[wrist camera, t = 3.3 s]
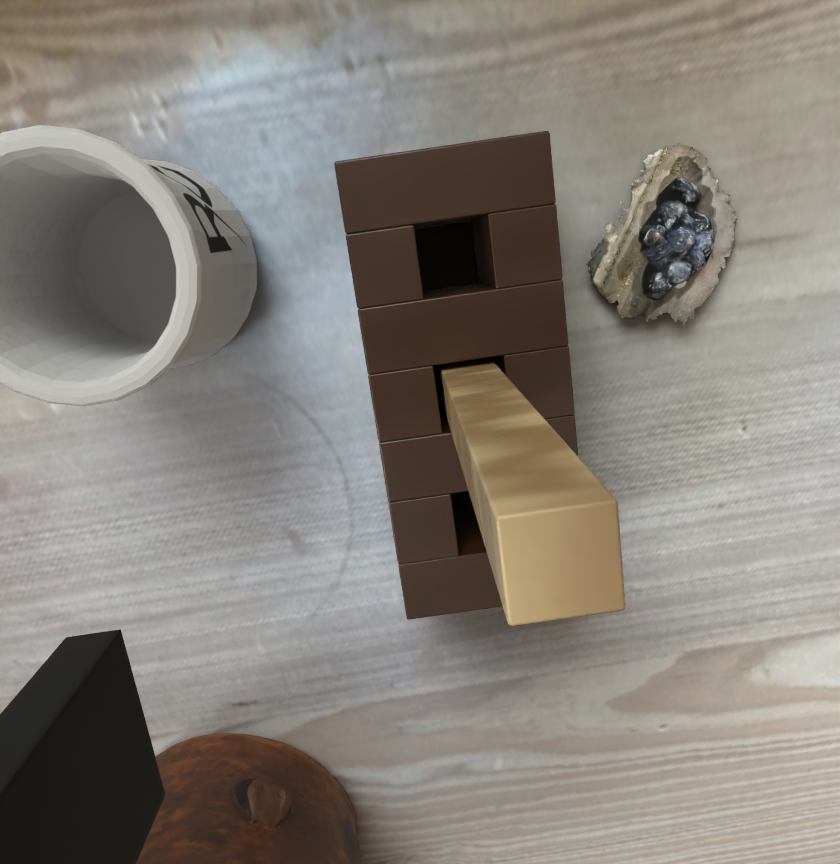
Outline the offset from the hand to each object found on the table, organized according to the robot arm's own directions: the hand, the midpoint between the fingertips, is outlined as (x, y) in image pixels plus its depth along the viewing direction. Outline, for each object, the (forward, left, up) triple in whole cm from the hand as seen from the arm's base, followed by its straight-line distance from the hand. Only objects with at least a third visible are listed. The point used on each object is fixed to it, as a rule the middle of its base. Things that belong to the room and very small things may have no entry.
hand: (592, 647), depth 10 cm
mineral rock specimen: (-10, -5, -25) cm, 27 cm away
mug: (+14, -8, -25) cm, 30 cm away
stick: (0, 0, -25) cm, 25 cm away
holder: (0, 0, -25) cm, 25 cm away
